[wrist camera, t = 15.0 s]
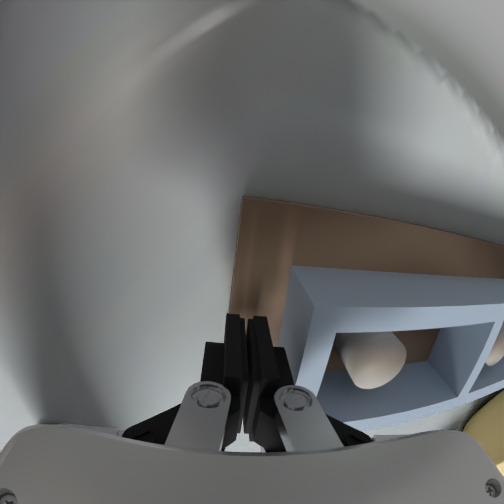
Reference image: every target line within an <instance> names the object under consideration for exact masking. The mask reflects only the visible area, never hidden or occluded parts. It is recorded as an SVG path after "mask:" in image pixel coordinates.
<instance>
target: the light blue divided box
mask: <svg viewBox="0 0 504 504" xmlns="http://www.w3.org/2000/svg"><path fill="white" fill-rule="evenodd" d="M503 321H504V279H497V278H479V277H461V276H444V275H428V274H412V273H396V272H381V271H366V270H352V269H338V268H324V267H310V266H296V265H291V268H290V275H289V281H288V288H287V294H286V300H285V306H284V312H283V318H282V324H281V330H280V335H279V341H278V346H277V347H284V348H285V351H286V355H287V358H288V362H289V366H290V370H291V373H292V377H293V381H294V384H295V385H297V386H302V387H304V388H307V389H309V390H310V391H311V392H313V394H314V395H315V396H316V398H317V400H318V402H319V403H320V405H321V407H322V409H323V411H324V412H325V414H327V415H329V416H331V417H333V418H335V419H337V420H339V421H341V422H343V423H345V424H347V425H349V426H351V427H353V428H355V429H357V430H359V431H367V430H372V429H377V428H382V427H387V426H392V425H396V424H400V423H405V422H409V421H412V420H416V419H420V418H424V417H427V416H430V415H434V414H437V413H440V412H443V411H446V410H449V409H452V408H455V407H458V406H461V405H464V404H466V403H469V402H472V401H474V400H477V399H479V398H482V397H484V396H486V395H489V394H491V393H493V392H495V391H498V390H500V389H502V388H504V356H503V357H502V358H501V360H500V361H499V362H497V363H496V364H495V365H493V366H488V365H487V364H486V363H485V362H486V360H487V358H488V355H489V353H490V351H491V349H492V347H493V345H494V343H495V340H496V338H497V336H498V334H499V331H500V329H501V326H502V324H503ZM434 328H440V331H439V333H438V336H437V338H436V341H435V343H434V346H433V348H432V350H431V353H430V355H429V357H428V359H427V361H422V362H415V363H408V364H404V365H403V367H402V369H401V370H400V372H399V373H398V374H397V375H396V376H395V377H394V378H393V379H392V380H390V381H389V382H387V383H386V384H384V385H382V386H380V387H377V388H373V389H362V388H359V387H358V386H356V385H355V384H354V382H353V380H352V378H351V377H350V375H349V373H348V371H347V369H345V370H325V369H326V366H327V363H328V359H329V356H330V353H331V349H332V346H333V342H334V339H335V335H336V333H354V332H386V331H406V330H421V329H434Z"/></svg>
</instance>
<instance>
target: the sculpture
mask: <svg viewBox="0 0 504 504" xmlns="http://www.w3.org/2000/svg"><path fill="white" fill-rule="evenodd" d="M463 432H465V433H467V434H469V435H471V436H472V437H473V438H474V439H475V440H476V441H477V442H478V443H479V444H480V445H481V446H482V447H483V449H484V450H485V451H486V452H487V454H488V455H489V456H490V458H491V459H492V461H493V462H494V463H495V465H496V466H497V468H498V469H499V471H500V472H501V474H502V476H503V477H504V390H503V391H502V392H500V393H499V394H498V395H496V396H495V397H494V398H493V399H492V400H490V401H489V402H488V403H487V404H486V405H484V406H483V407H482V408H481V409H480V410H479V411H478V412H476V413H475V414H474V415H473V416H472V418H471V419H470V420H469V421H468V423H467V424H466V426H465V428H464V430H463Z"/></svg>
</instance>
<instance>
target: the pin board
mask: <svg viewBox="0 0 504 504" xmlns="http://www.w3.org/2000/svg"><path fill="white" fill-rule="evenodd" d="M291 265H296V266H310V267H324V268H338V269H352V270H366V271H381V272H396V273H412V274H428V275H444V276H461V277H479V278H497V279H504V246H502V245H498V244H494V243H491V242H487V241H483V240H479V239H475V238H472V237H468V236H464V235H459V234H455V233H451V232H447V231H443V230H438V229H434V228H429V227H425V226H420V225H416V224H411V223H406V222H401V221H396V220H391V219H386V218H381V217H376V216H371V215H365V214H360V213H354V212H348V211H343V210H337V209H331V208H325V207H318V206H312V205H305V204H299V203H292V202H285V201H278V200H271V199H263V198H255V197H247V196H243V197H242V205H241V213H240V221H239V229H238V237H237V245H236V253H235V261H234V270H233V278H232V287H231V296H230V304H229V314H240V318H245V331H246V329H247V322H248V318H249V319H253V316H267V320H268V325H269V329H270V334H271V339H272V343H273V347H277V346H278V341H279V335H280V330H281V324H282V318H283V312H284V306H285V300H286V294H287V288H288V281H289V275H290V268H291ZM439 331H440V328H434V329H421V330H406V331H386V332H354V333H336V335H335V339H334V342H333V346H332V349H331V353H330V356H329V359H328V363H327V366H326V369H325V370H345V369H347V371H348V373H349V375H350V377H351V378H352V380H353V382H354V384H355V385H356V386H358V387H359V388H362V389H373V388H377V387H380V386H382V385H384V384H386V383H387V382H389V381H390V380H392V379H393V378H394V377H395V376H396V375H397V374H398V373H399V372H400V370H401V369H402V367H403V365H404V364H408V363H415V362H422V361H427V359H428V357H429V355H430V353H431V350H432V348H433V346H434V343H435V341H436V338H437V336H438V333H439ZM503 356H504V321H503V324H502V326H501V329H500V331H499V334H498V336H497V338H496V340H495V343H494V345H493V347H492V349H491V351H490V353H489V355H488V358H487V360H486V362H485V363H486V364H487V365H488V366H493V365H495V364H496V363H497V362H499V361H500V360H501V358H502V357H503Z"/></svg>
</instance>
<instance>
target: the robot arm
mask: <svg viewBox="0 0 504 504" xmlns="http://www.w3.org/2000/svg"><path fill="white" fill-rule="evenodd" d="M242 419H243V425H244V433H245V434H249V439H250V441H254V442H256V443H257V444H259V445H260V446H261V452H225V447H227V446H228V445H230V444H231V443H233V442H234V441H235V440H236V436H237V433H240V431H241V425H242ZM0 504H504V477H503V476H502V474H501V472H500V471H499V469H498V468H497V466H496V465H495V463H494V462H493V461H492V459H491V458H490V456H489V455H488V454H487V452H486V451H485V450H484V449H483V447H482V446H481V445H480V444H479V443H478V442H477V441H476V440H475V439H474V438H473V437H472V436H471V435H469V434H467V433H465V432H461V431H455V430H436V431H427V432H420V433H415V434H410V435H374V436H373V438H370V437H369V436H368V435H366V434H365V433H363V432H361V431H359V430H357V429H355V428H353V427H351V426H349V425H347V424H345V423H343V422H341V421H339V420H337V419H335V418H333V417H331V416H329V415H327V414H325V412H324V411H323V409H322V407H321V405H320V403H319V402H318V400H317V398H316V396H315V395H314V394H313V392H311V391H310V390H309V389H307V388H304V387H302V386H297V385H295V384H294V381H293V377H292V373H291V370H290V366H289V362H288V358H287V355H286V351H285V348H284V347H273V343H272V339H271V334H270V329H269V325H268V320H267V316H253V319H249V318H248V322H247V329H246V331H245V318H240V314H229V313H227V315H226V326H225V337H224V343H215V342H206V344H205V351H204V359H203V366H202V373H201V381H200V382H198V383H195V384H193V385H191V386H190V387H189V388H188V390H187V391H186V394H185V396H184V398H183V401H182V403H181V404H179V405H177V406H175V407H173V408H171V409H169V410H167V411H164V412H162V413H160V414H158V415H156V416H154V417H152V418H149V419H147V420H145V421H143V422H140V423H138V424H136V425H134V426H131V427H130V428H128V429H126V430H125V431H118V430H117V428H111V427H97V426H87V425H78V424H70V423H61V424H58V425H50V424H41V425H32V426H28V427H25V428H23V429H21V430H20V431H18V432H17V433H16V434H15V435H14V436H13V437H12V438H11V439H10V440H9V441H8V443H7V444H6V445H5V447H4V448H3V449H2V451H1V452H0Z"/></svg>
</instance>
